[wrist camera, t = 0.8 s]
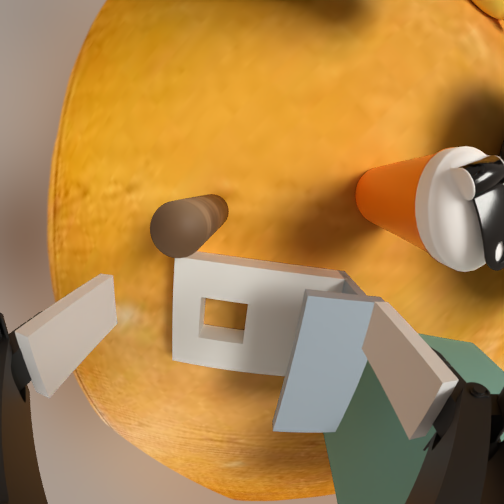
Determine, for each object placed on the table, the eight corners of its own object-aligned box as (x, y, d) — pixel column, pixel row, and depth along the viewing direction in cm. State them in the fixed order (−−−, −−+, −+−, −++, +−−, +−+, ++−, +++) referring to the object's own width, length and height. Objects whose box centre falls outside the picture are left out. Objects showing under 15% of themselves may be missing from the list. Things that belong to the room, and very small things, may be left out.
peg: (196, 192, 32) (152, 198, 18) (230, 196, 32) (207, 204, 18) (193, 226, 33) (148, 254, 19) (226, 230, 33) (202, 262, 19)
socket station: (183, 241, 33) (143, 272, 21) (346, 263, 33) (386, 303, 21) (179, 351, 37) (151, 411, 25) (318, 369, 37) (335, 432, 25)
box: (321, 424, 40) (346, 554, 15) (377, 325, 35) (474, 468, 10) (418, 425, 41) (463, 516, 15) (472, 342, 36) (555, 425, 11)
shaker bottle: (367, 244, 33) (468, 310, 13) (334, 180, 31) (430, 176, 12) (419, 211, 31) (537, 242, 12) (391, 148, 30) (509, 125, 10)
